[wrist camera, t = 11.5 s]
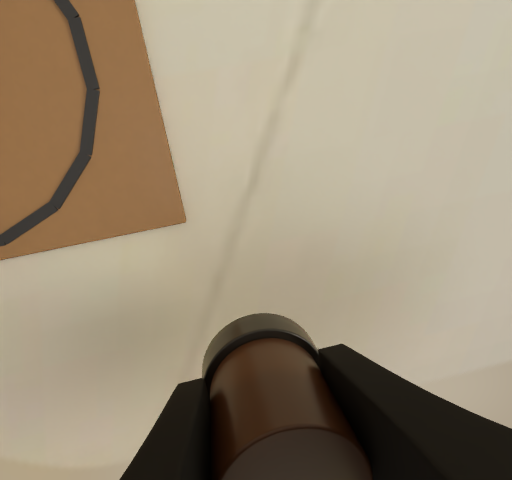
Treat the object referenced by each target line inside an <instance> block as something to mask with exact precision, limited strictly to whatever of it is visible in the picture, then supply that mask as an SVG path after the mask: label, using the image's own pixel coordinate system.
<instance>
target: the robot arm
mask: <svg viewBox="0 0 512 480" xmlns="http://www.w3.org/2000/svg"><path fill="white" fill-rule="evenodd" d="M318 353H319V359H320V366H321V372H322V375H323V377H324V378H325V380H326V382H327V384H328V386H329V387H330V389H331V391H332V393H333V395H334V396H335V398H336V400H337V402H338V404H339V405H340V407H341V409H342V411H343V413H344V414H345V416H346V418H347V420H348V422H349V423H350V425H351V427H352V429H353V431H354V433H355V434H356V436H357V438H358V440H359V442H360V443H361V445H362V447H363V449H364V451H365V452H366V454H367V456H368V458H369V461H370V464H371V467H372V473H373V480H512V429H511V428H508V427H506V426H503V425H501V424H499V423H496V422H494V421H491V420H489V419H486V418H484V417H481V416H479V415H477V414H474V413H472V412H470V411H468V410H466V409H463V408H461V407H459V406H457V405H455V404H453V403H451V402H449V401H446V400H444V399H442V398H440V397H438V396H436V395H434V394H432V393H430V392H428V391H426V390H424V389H422V388H420V387H418V386H416V385H414V384H413V383H411V382H409V381H407V380H405V379H403V378H401V377H400V376H398V375H396V374H394V373H392V372H391V371H389V370H387V369H385V368H383V367H382V366H380V365H378V364H376V363H375V362H373V361H371V360H370V359H368V358H366V357H364V356H363V355H361V354H359V353H358V352H356V351H354V350H352V349H351V348H349V347H347V346H345V345H343V344H339V345H335V346H331V347H326V348H322V349H318ZM120 480H211V415H210V399H209V395H208V391H207V387H206V383H205V379H204V378H200V379H196V380H192V381H188V382H184V383H180V384H178V385H177V387H176V388H175V390H174V392H173V393H172V395H171V397H170V399H169V400H168V402H167V404H166V406H165V407H164V409H163V411H162V413H161V414H160V416H159V418H158V419H157V421H156V423H155V425H154V426H153V428H152V430H151V431H150V433H149V435H148V436H147V438H146V439H145V441H144V443H143V444H142V446H141V447H140V449H139V451H138V452H137V454H136V456H135V457H134V459H133V460H132V462H131V463H130V465H129V466H128V468H127V469H126V471H125V472H124V474H123V475H122V477H121V478H120Z"/></svg>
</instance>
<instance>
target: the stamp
mask: <svg viewBox="0 0 512 480" xmlns="http://www.w3.org/2000/svg"><path fill="white" fill-rule="evenodd" d="M202 378H204V379H205V383H206V387H207V391H208V395H209V399H210V415H211V480H373V473H372V467H371V464H370V461H369V458H368V456H367V454H366V452H365V451H364V449H363V447H362V445H361V443H360V442H359V440H358V438H357V436H356V434H355V433H354V431H353V429H352V427H351V425H350V423H349V422H348V420H347V418H346V416H345V414H344V413H343V411H342V409H341V407H340V405H339V404H338V402H337V400H336V398H335V396H334V395H333V393H332V391H331V389H330V387H329V386H328V384H327V382H326V380H325V378H324V377H323V375H322V372H321V366H320V359H319V353H318V350H317V348H316V346H315V345H314V343H313V341H312V340H311V338H310V337H309V335H308V334H307V332H306V331H305V330H304V329H303V328H302V327H301V326H300V325H298V324H297V323H296V322H294V321H292V320H291V319H288V318H286V317H284V316H280V315H276V314H269V313H260V314H252V315H248V316H244V317H242V318H239V319H237V320H235V321H233V322H231V323H230V324H228V325H227V326H225V327H224V328H223V329H222V330H221V331H220V332H219V333H218V334H217V335H216V336H215V337H214V338H213V340H212V341H211V343H210V344H209V346H208V348H207V350H206V353H205V356H204V360H203V367H202Z"/></svg>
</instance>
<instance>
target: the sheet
mask: <svg viewBox="0 0 512 480" xmlns="http://www.w3.org/2000/svg"><path fill="white" fill-rule="evenodd" d="M185 222H186V218H185V213H184V209H183V205H182V201H181V196H180V192H179V188H178V184H177V179H176V175H175V171H174V166H173V162H172V158H171V154H170V149H169V145H168V141H167V137H166V132H165V128H164V124H163V120H162V115H161V111H160V107H159V102H158V98H157V94H156V90H155V85H154V81H153V77H152V73H151V68H150V64H149V60H148V56H147V51H146V47H145V43H144V39H143V34H142V30H141V26H140V21H139V17H138V13H137V9H136V4H135V0H0V260H3V259H8V258H13V257H18V256H23V255H27V254H32V253H37V252H42V251H47V250H52V249H57V248H62V247H67V246H72V245H77V244H81V243H86V242H91V241H96V240H101V239H106V238H111V237H116V236H121V235H126V234H131V233H136V232H140V231H145V230H150V229H155V228H160V227H165V226H170V225H175V224H180V223H185Z"/></svg>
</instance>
